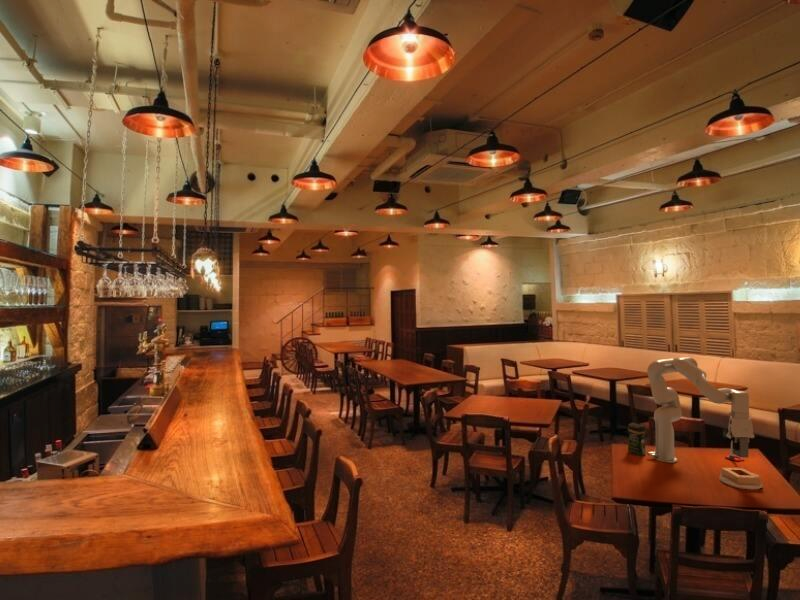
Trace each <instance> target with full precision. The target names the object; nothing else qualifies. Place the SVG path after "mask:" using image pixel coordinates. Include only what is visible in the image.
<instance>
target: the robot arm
mask: <svg viewBox="0 0 800 600" xmlns="http://www.w3.org/2000/svg"><path fill="white" fill-rule="evenodd" d="M698 366H699V365H698V362H697V360H696V359H695V358H693V357H690V356H686V357H677V358H665V359H664V358H663V359H657V360H655V361H653V362H651V363H650V364H649V365H648V367H647V371H646V373H647V376H648V381H649V385H650V390H651V394H652V400H653V401H654V403H655V404H657V405H664V406H660V407H658V408H657V409H655V410H654V413H653V419H654V423H655V449H654V450H653V451H647V452H646V453H647V455H648V456H651V457H652V458H653V459H654V460H655V459H656V460H655V461H658V462H662V463H667V464H668V463H671V464H673V463H677V462H678V458H677V457H676V456H675V430H674V426H673V423H674V422H677V421H679V420H680V419H681V418H682V416H683V411H682V405H681V401H680V397H679V394H678V392H677V391H676V389H674V388H672V387H670V386H669V387H668V386H667V381H666V378H665V377H664V374H673V373H679V374H680V375H681V376H683V377H685V378H686V379H687V380H688V381H690V382H691V383H693V384H694V385H695V388H696V390H698V391H699V393H700V394H701V395H702V396H704V397H705V398H706V399H707V400H710V402H712V403H715V404H717V405H718V404H719V405H720V404H721V405H722V404H726V403H730V405H731V406H730V407H731V408H730V410H731V411H730V412H729V413H728V415H729V421H728V427H727V428H728V430H727V433H726V434H725V437H727V438H729V439H730V440H731V441H733V449H735V450H738V443H737V441H738V438H748V444H749V443H750V441H751V440H752V439H754V438H755V437H756V436H755V434H754V427H753V425H754V424H753V421H752V419H751V417H750V394H749V393H748V392H747V391H744V390H736V389H733V388H729V387H723V388H717V387H715V386H713V384H711V383H710V382H709V381H708V379H707V373H706V371H704V370H702V369H701V368H699V367H698Z"/></svg>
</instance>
